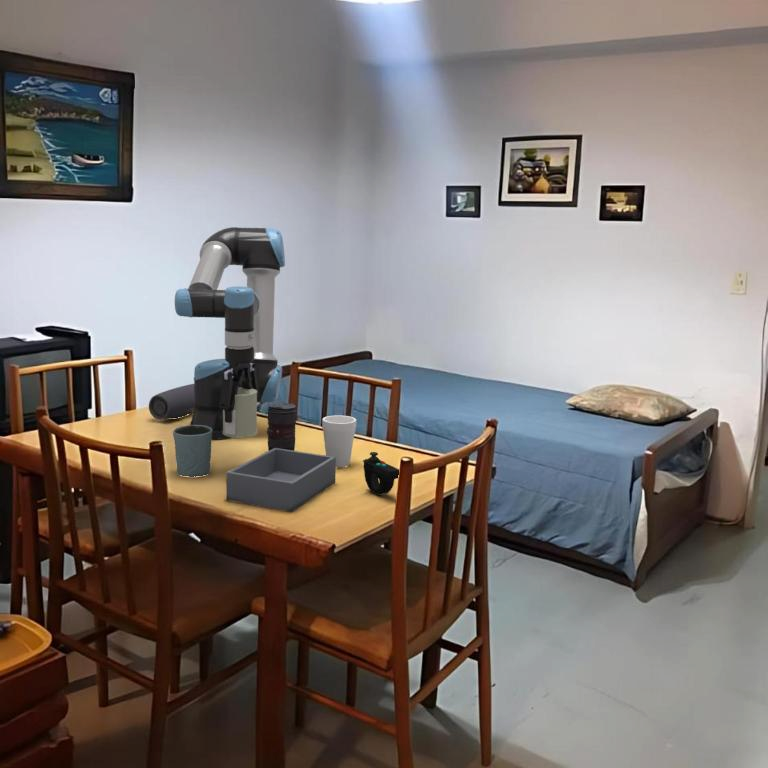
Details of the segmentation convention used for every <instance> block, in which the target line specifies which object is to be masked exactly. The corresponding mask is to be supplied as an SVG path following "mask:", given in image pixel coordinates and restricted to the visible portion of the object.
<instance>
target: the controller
mask: <svg viewBox="0 0 768 768" xmlns="http://www.w3.org/2000/svg"><path fill="white" fill-rule="evenodd" d="M369 455H370V457H369V458H367V459H366V458H365V459H363V460H362V462H363V465H362V466H363V471H364V472H363V473H364V478H365V479H364V480H365V483H366V485H367V487H368V489H369V490H370V491H371V492H372V493H373V494H374V495H378V496H379V495H385V494H388V493H389V492H391V490H392V489H393V487H394V484H395V480H397V479H399V478H398V475H399V470H400V469H399V468H397V467H395V466H392V465H390V464H388V463H386V462H385V461H383V460H381V459H380V458H379V457H378V456H379V453H378V452H377V451H371V452H370V453H369Z"/></svg>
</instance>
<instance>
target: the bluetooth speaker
mask: <svg viewBox="0 0 768 768" xmlns="http://www.w3.org/2000/svg"><path fill="white" fill-rule="evenodd" d="M194 410H195V396H194V383H190V384H185V385H182V386H177V387H175V388H171V389H168V390H166V391H163V392H159V393H157V394H155V395H153V396H151V398H150V400H149V403H148V411H149V413H150V414H151V416H152V417H153V418H154V419H156V420H167V419H169V418H178V417H182V416H185V415H187V414H190V413H192V414H193V412H194ZM190 415H191V414H190ZM185 417H186V416H185ZM182 418H183V417H182Z"/></svg>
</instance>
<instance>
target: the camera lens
mask: <svg viewBox="0 0 768 768" xmlns="http://www.w3.org/2000/svg"><path fill="white" fill-rule="evenodd" d="M296 422H297V406H296V405H295V404H293V403H290V402H271V403H270V404H269V405H268V409H267V425H268V427H267V430H266V434H267V450H268V451H270V450H272V449H274V448H279V449H286V450H292V451H296V450H295V449H296Z"/></svg>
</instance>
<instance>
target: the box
mask: <svg viewBox="0 0 768 768" xmlns="http://www.w3.org/2000/svg"><path fill="white" fill-rule="evenodd" d="M336 469H337V468H336V457H332V456H326V454H320V453H319V454H318V453H312V452H305V451H297V450H294V451H292V450H286V449H279V448H274V449H272V450H270V451H269V450H268V451H266V452H264V453H262V454H260V455H258V456H256V457H254V458H252V459H250V460H248V461H246V462H244V463H242V464H241V465H237V466H236V467H233V468H232V469H230V470H228V471H227V472H226V473H225V477H226V478H225V481H226V482H225V483H226V485H225V486H226V490H225V492H226V495H225V496H226V501H230V502H234V503H240V504H247V505H252V506H258V507H264V508H267V509H268V508H269V509H274V510H280V511H285V512H286V511H287V512H290V513H293V512H295V511H296V510H298V509H299V508H301V507H302V506H303V505H305V504H307V503H308V502H309V501H311V500H312V499H313V498H315V497H317V496H318V495H320V494H321V493H322V492H323V491H325V490H326V489H328V488H329V487H331V486H333V485H334V484H335V483H336ZM332 484H333V485H332Z"/></svg>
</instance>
